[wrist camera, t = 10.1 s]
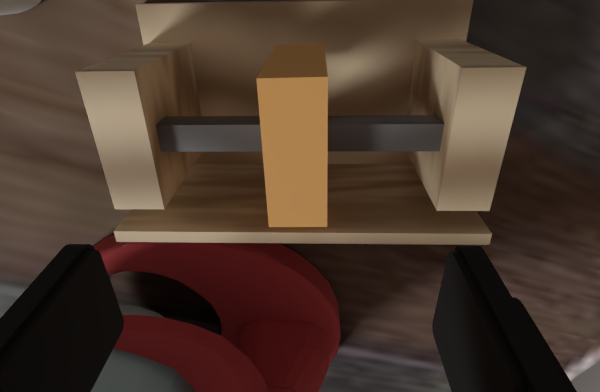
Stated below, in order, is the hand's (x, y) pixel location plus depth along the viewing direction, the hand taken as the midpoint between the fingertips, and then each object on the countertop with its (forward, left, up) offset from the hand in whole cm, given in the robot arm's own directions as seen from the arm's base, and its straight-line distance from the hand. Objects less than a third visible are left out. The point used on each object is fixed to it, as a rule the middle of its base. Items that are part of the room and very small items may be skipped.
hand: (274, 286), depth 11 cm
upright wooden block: (+1, 0, -20) cm, 20 cm away
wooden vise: (+1, 0, -23) cm, 23 cm away
